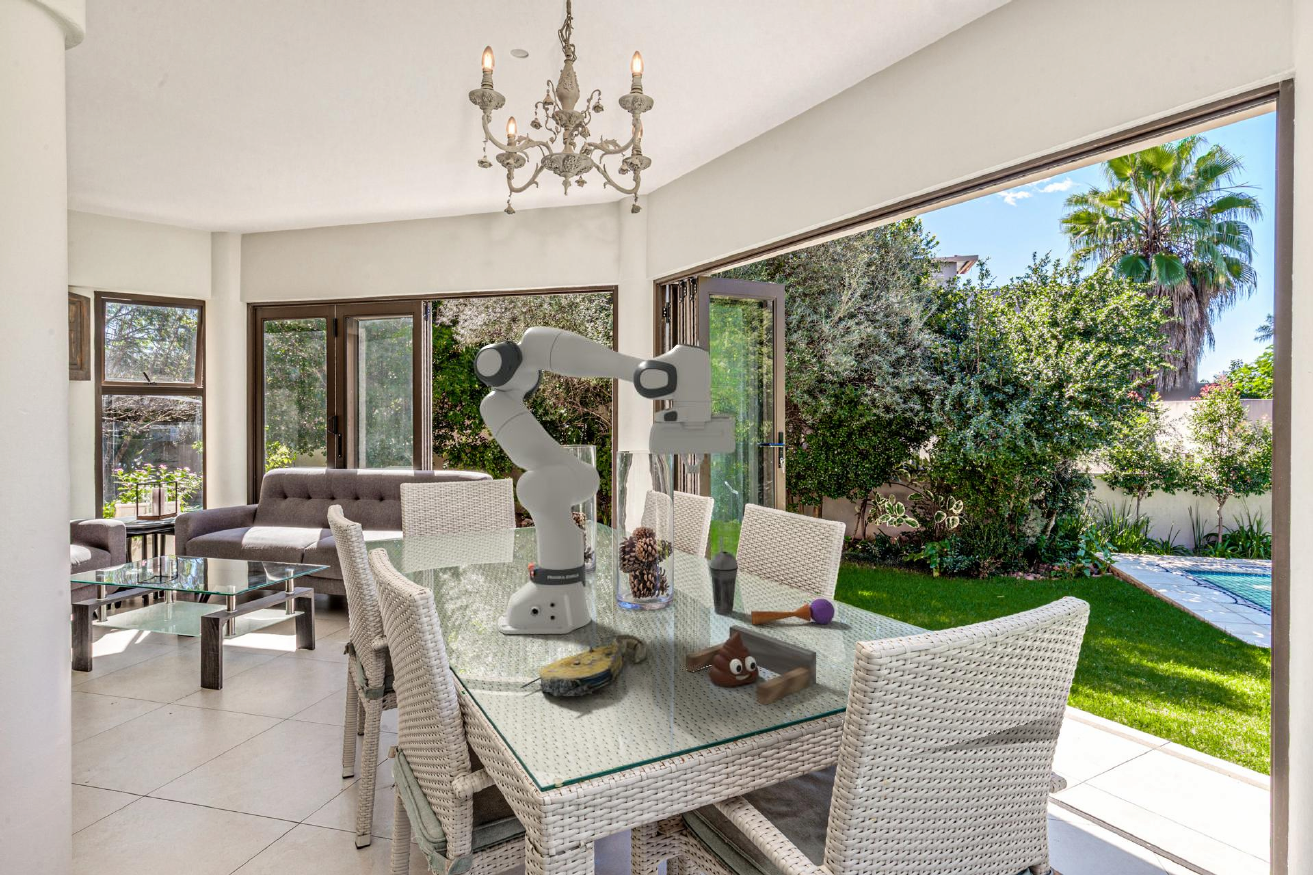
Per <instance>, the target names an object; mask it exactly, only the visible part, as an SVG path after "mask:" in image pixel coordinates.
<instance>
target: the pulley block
mask: <svg viewBox="0 0 1313 875" xmlns="http://www.w3.org/2000/svg"><path fill="white" fill-rule="evenodd" d="M646 645H647V644H645V643H644V642H643V640H641V639H639V638H638V637H636V636H634V635H630V634H626V633H625V634H619V635H617V636H616V637H614V638H613V639H612V645H604V646H598V647H595V648H593V647H592V646H591V647H589V650H585V651H582V652H579V653H576V654H572V655H570V656H567V657H564V658H561V659H558V660H556V661H554V662H552V663H550V664H547V665H546V666H544V667H543V668H541V670H540V671H539V677H537V678H536V679H534V680H532V681H531V680H530V682H528V683H526V684H525V685H522V686H521V687H520V689H523V688H526V687H527V686H530V685H532V684H533V683H536V682H537V681H540V683H539V686H540V687H541V688H540V689H541V692H546V693H550V694H552V695H553V696H554V697H557V698H558V697H561V696H563V697H575V696H576V697H577V696H580V697H582V696H585V695H586V694H590V695H593V691H595V690H597V689H600V688H601V687H604V686H606V685H609V684H610V683H612V682H613V681H614V680H615V678H616V677H618V676H620V675H619V673H620V672H621V671H622V670H623V662H625V661H626V653H627V651H628V650H631V651H634V652H635V653H634V654H633V662H635V663H640V662H641V661H642V660H644V659H645V658H646V657H647V656H648V651H649V650H648V647H647V646H646Z"/></svg>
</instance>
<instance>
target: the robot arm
mask: <svg viewBox="0 0 1313 875" xmlns="http://www.w3.org/2000/svg"><path fill="white" fill-rule="evenodd" d="M473 361H474V362H473V370H474V372H475V375H476V376H477V377H478V379H479V380H480V381H481V382H483V383H484V384H485V385H486V386H488V387H490V391H489V393H488V394H486V396H484V398H483V399H482V401H481V403H480V406H479V412H480V415H481V418H482V420H483V422H484V424H485V426H486V427H487V429H488V431H489V432H490V434H491V435H492V437H493V438H494V439H495V441H496V442H497V444H498V445H499V446H500V447H501V449H502V450H503V451H504V452H505V454H506V455H507V457H508V458H509V460H510V461H511V462H512V463H513V464H514V465H516V466H517V467H519V468H521V469H523V470H525V471H526V472H524V473H523V474H521V475H520V476H519V478H518V481H517V483H516V487H515V488H516V490H515V491H516V497H517V500H518V502H519V504H520V505H521V506H522V507H523V508H524V509H525V510H526V511H527V512H528V513H529V515H530V517H531V519H532V522H533V524H534V527H535V528H534V529H535V531H536V539H537V561H538V562H537V563H536V564H535V563H530V564H528V566H527V571H528V572H529V581H528V582H527V583H525V584H524V585H522V587H520V588H519V589H517V591H515V592H514V593H513V594H512V595H511V596H510V597H509V600H508V604H507V607H506V612H504V613H503V614H501V615H500V616H499V617H498V619H497V627H496V628H497V630H498V631H499V632H500V633H502V634H504V635H540V634H541V635H553V634H555V635H556V634H557V635H558V634H559V635H560V634H561V635H564V634H568V633H570V632H572V631H573V630H576V629H578V628H579V629H580V628H582V627H585V626H586V625H588V624H589V623H590V622H591V620H592V617H591V615H590V611H589V607H588V602H587V595H586V594H587V593H586V585H587V584H586V583H587V567H586V563H585V561H584V560H585V558H584V556H585V555H584V549H585V548H584V533H583V530H582V529H581V528H580V527H579V526H578V525H577V524H576V522H575V521H574V517H573V512H572V507H573V506H576V505H577V506H578V505H582V504H583V503H585V502H587V501H588V500H591V498H593V497H594V496H596V494H597V493H598V491H599V488H600V484H601V480H600V479H601V478H600V475H599V472H598V470H597V469H596V467H595V466H593V465H592V464H591V463H588V462H586V461H584V460H582V459H580V458H578V457H577V456H575V455H574V454H573V453H572V452H570V451H569V450H567V449H566V448H565V447H564V446H563V445H561V444H560V443H559V442H558V441H556V440H555V439H554V438H553V437H552V436H551V435H550V434H549V432H548V431H546V430H545V428H544V427H543V426H542V424H541V423H540V422H539V421H538V419H537V418H536V416H534V414H533V413H532V412H531V411H530V409H529V408H528V407H527V406H526V404H525V403H526V402H529V401H530V399H531V398H532V397H533V395H534V394H535V393H536V392H537V391H539V390H538V389H539V388H540V386H541V385H542V381H543V379H544V378H543V377H544V373H543V371H546V372H549V373H553V374H556V375H560V376H564V377H568V378H569V377H570V378H577V379H578V378H581V379H582V378H583V379H586V378H587V379H592V378H611V379H612V378H613V379H617V380H618V379H619V380H623V381H625V382H629V383H633V387H634V389H635V390H636V392H637V393H638V395H640V396H641V397H643V398H645V399H647V400H654V401H655V400H656V401H657V400H658V401H664V400H665V401H670V402H671V401H673V404H672V405H673V406H672V407H669V408H665V409H663V410H660V411H657V412H655V413H653V420H654V423H653V424H652V426H651V427H650V432H649V437H648V441H649V442H648V450H649V452H650V453H651V454H652V455H656V456H657V455H659V456H660V455H680V460H681V461H682V463H683V464H684V466H685V474H700V466H701V464H702V463H703V461H704V460H705V454H706V455H707V454H733V452H735V450H736V436H735V432H734V431H735V429H736V419H735V418H734V416H732V415H730V414H729V413H712V397H711V390H710V389H711V386H712V366H711V365H712V364H711V357H710V353H709V351H708V350H707V349H706V348H705V347H703V346H699V345H695V344H689V343H678V344H676V345H675V346H674V347H673V348H672V349H669V351H667V352H665V353H663V354H660V355H657V356H656V357H653V358H650V359H647V360H645V359H642V358H637V357H634V356H631V355H626V354H623V353H620V352H617V351H616V350H613V349H611V348H609V347H606V346H604V345H602V344H600V343H598V342H597V341H594V340H593V339H590V338H588V337H586V336H583V335H581V334H579V333H577V332H573V331H570V330H566V329H563V328H557V327H551V326H544V325H543V326H539V325H535V326H532V327H529V328H528V329H526V330H525V332H524V333H523V334H522V336H521V339H520V340H519V341H518V343H516V342H514V341H513V340H510V339H509V340H505V341H502V342H499V343H496V342H495V343H491V344H488V345H485V346H483V347H482V348H481V349H480V350H478V352H477V353H476V355H475V357H474V360H473ZM689 455H695V457H696V458H697V460H696V462H695V463H694V464H693V465H691V464H690V463H689V462H688V459H689V457H690V456H689Z"/></svg>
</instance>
